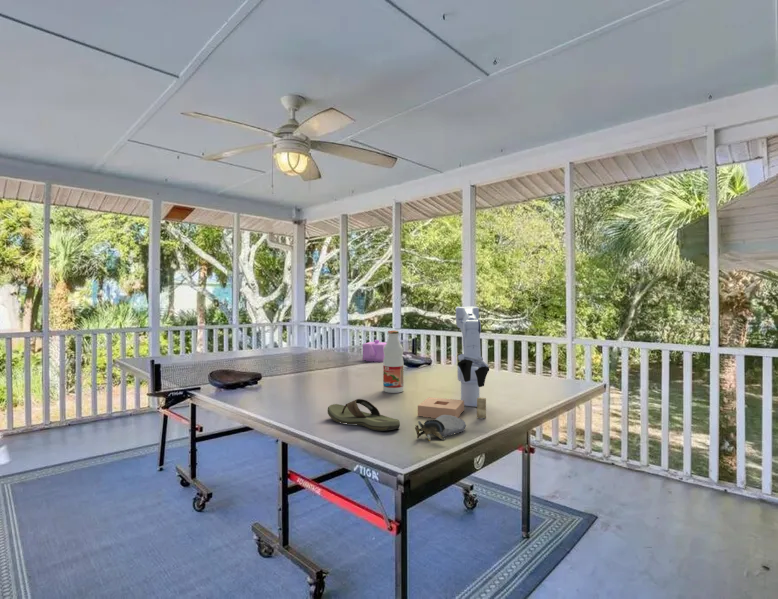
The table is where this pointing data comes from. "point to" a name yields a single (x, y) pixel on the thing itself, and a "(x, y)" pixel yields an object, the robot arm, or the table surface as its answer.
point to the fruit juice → (393, 364)
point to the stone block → (451, 424)
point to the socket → (440, 407)
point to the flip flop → (362, 416)
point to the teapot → (374, 351)
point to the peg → (481, 407)
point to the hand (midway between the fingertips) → (474, 383)
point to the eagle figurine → (430, 429)
